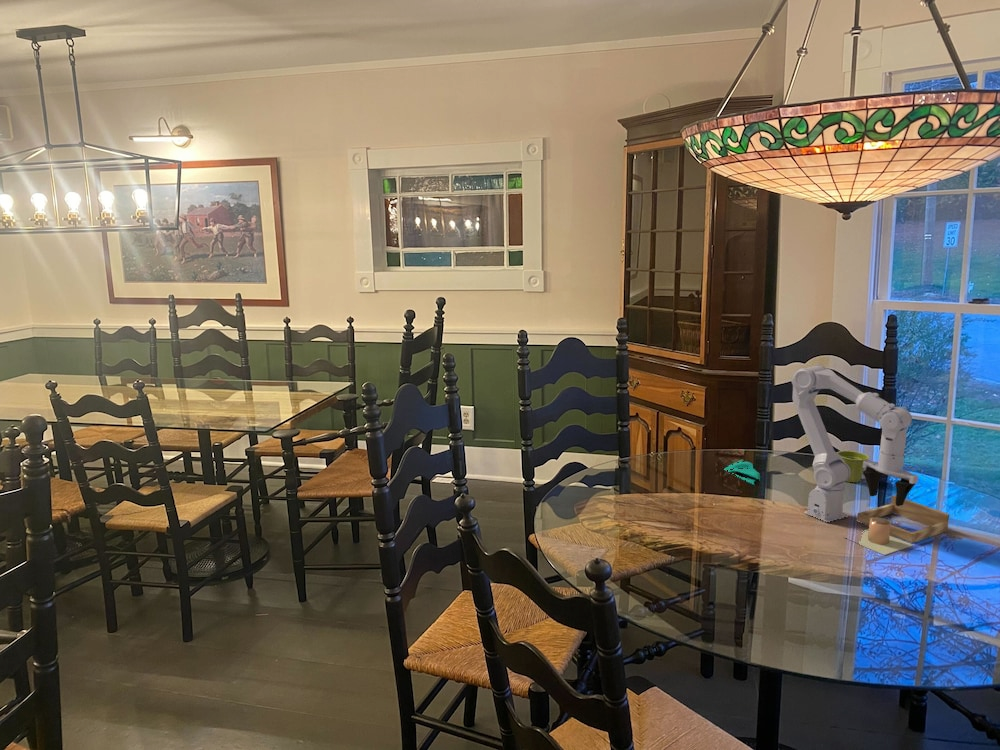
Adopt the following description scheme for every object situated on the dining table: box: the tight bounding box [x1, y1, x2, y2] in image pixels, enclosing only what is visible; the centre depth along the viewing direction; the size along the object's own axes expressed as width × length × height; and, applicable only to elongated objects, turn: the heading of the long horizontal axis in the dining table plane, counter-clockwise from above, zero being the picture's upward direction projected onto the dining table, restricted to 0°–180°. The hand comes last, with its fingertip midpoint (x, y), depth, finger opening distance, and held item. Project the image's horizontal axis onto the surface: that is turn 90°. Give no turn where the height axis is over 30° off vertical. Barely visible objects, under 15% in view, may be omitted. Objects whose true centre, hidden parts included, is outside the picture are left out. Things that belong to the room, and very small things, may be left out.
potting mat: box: [858, 528, 914, 556], centre depth 185 cm, size 12×12×1 cm
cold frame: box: [856, 494, 951, 544], centre depth 194 cm, size 16×16×5 cm
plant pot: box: [836, 450, 869, 484], centre depth 230 cm, size 9×9×9 cm
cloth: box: [723, 459, 761, 486], centre depth 239 cm, size 26×14×2 cm, turn 158°
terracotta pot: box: [868, 517, 892, 545], centre depth 185 cm, size 5×5×6 cm
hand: (886, 500), depth 189 cm, fingers open, 7 cm apart
